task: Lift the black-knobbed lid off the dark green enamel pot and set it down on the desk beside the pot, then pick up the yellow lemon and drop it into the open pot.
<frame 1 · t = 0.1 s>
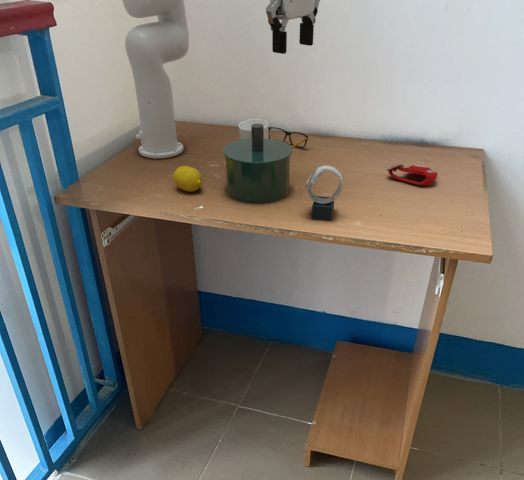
hand: (293, 48, 119), 31 cm above the table, tool pointing down, fingers open, 9 cm apart
watch: (322, 215, 127), on the table
lid: (257, 151, 132), point 9 cm above the table, touching pot
eyeglasses: (274, 151, 159), on the table, touching white cup
white cup: (255, 162, 153), on the table, touching eyeglasses
lemon: (188, 189, 139), on the table
tracker holder: (411, 179, 143), on the table
pot: (258, 190, 138), on the table
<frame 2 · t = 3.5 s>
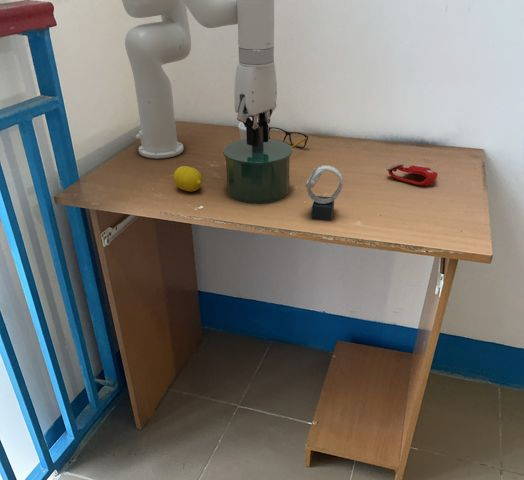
hand: (257, 142, 131), 12 cm above the table, tool pointing down, fingers closed on lid, 2 cm apart
lid: (257, 151, 132), point 10 cm above the table, touching gripper, pot
everything else where it was.
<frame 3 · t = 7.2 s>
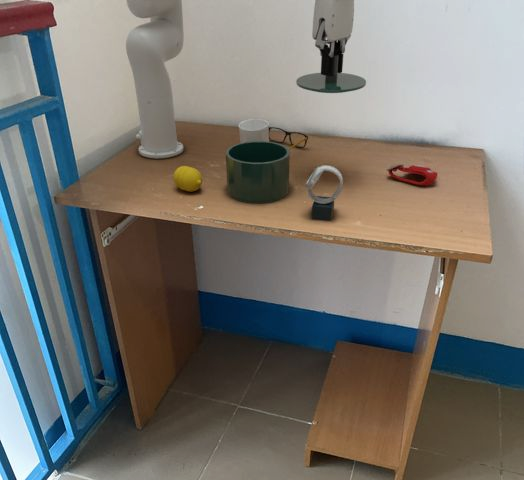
hand: (331, 72, 129), 24 cm above the table, tool pointing down, fingers closed on lid, 2 cm apart
lid: (330, 83, 131), point 22 cm above the table, touching gripper
everything else where it was.
when the fingers open (3 cm above the table, at t = 11.3 s): lid stays where it is, point 1 cm above the table.
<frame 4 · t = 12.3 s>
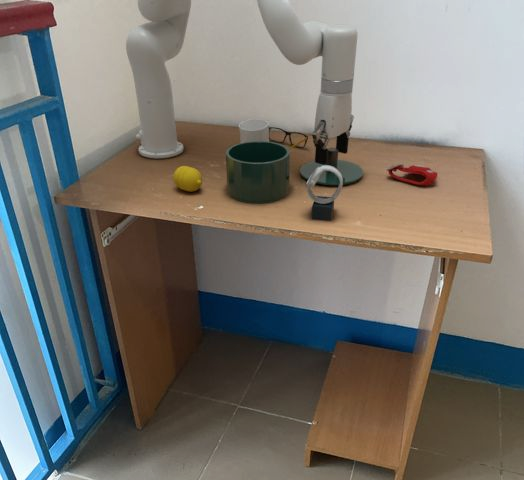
hand: (331, 157, 143), 4 cm above the table, tool pointing down, fingers open, 9 cm apart
lid: (331, 172, 145), point 1 cm above the table
everything else where it was.
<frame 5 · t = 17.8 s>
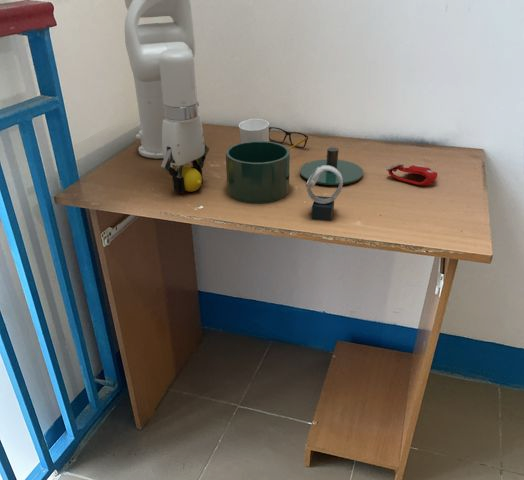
hand: (188, 187, 138), 1 cm above the table, tool pointing down, fingers closed on lemon, 5 cm apart
lemon: (188, 189, 139), on the table, touching gripper
everything else where it was.
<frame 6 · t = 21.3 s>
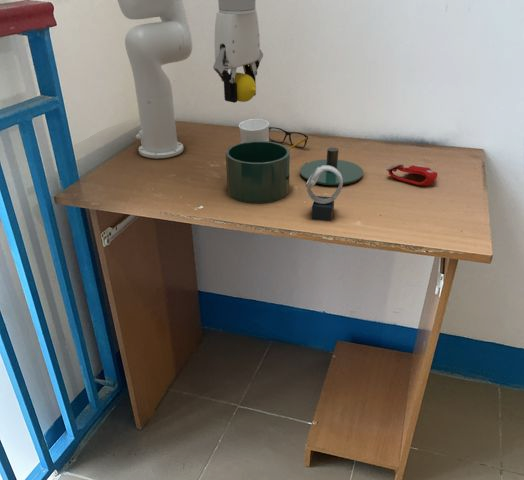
hand: (240, 97, 125), 22 cm above the table, tool pointing down, fingers closed on lemon, 5 cm apart
lemon: (240, 100, 125), point 21 cm above the table, touching gripper
everything else where it was.
when the fingers open (8 cm above the table, at t = 25.2 s): lemon drops 7 cm, resting on pot.
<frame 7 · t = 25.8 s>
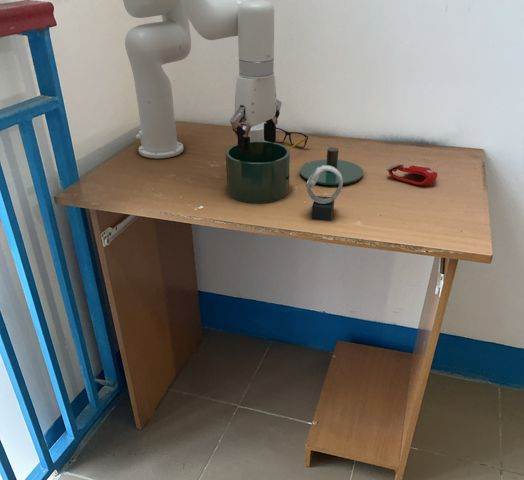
hand: (257, 147, 132), 11 cm above the table, tool pointing down, fingers open, 9 cm apart
lemon: (258, 186, 137), point 1 cm above the table, tilted 22°, touching pot
everything else where it was.
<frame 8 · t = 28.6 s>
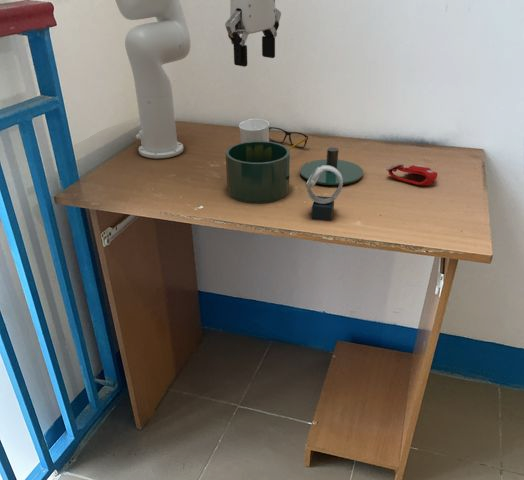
hand: (255, 61, 122), 28 cm above the table, tool pointing down, fingers open, 9 cm apart
lemon: (258, 188, 138), point 1 cm above the table, touching pot
everything else where it was.
at the end: lid inside the target area (0.1 cm from its centre), point 0.6 cm above the table; lemon inside the target area in the pot (0.0 cm from its centre), point 0.5 cm above the pot's base; the gripper is holding nothing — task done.
